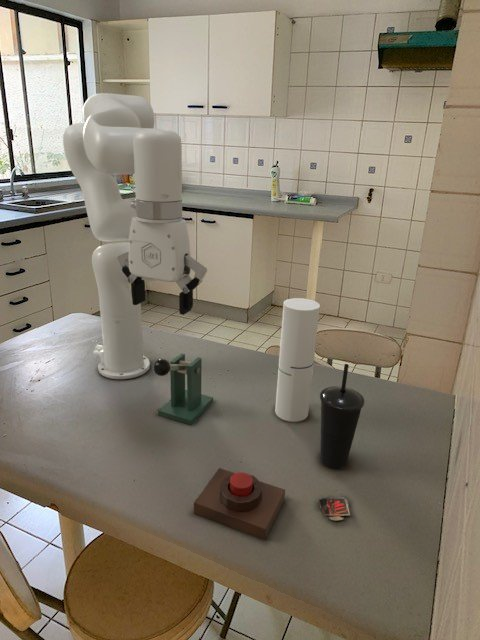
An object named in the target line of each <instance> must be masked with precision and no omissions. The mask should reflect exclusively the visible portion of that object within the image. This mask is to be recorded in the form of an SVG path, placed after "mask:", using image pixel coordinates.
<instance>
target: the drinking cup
mask: <svg viewBox="0 0 480 640" xmlns="http://www.w3.org/2000/svg"><path fill="white" fill-rule="evenodd" d="M343 366H344V367H343V374H342V382H341V386H339V385H338V386H337V385H336V386H335V385H334V386H328V387H325V388H323V389H322V390H321V391H320V393H319V400H320V446H319V447H320V448H319V449H320V452H319V456H320V458H319V459H320V462H321V464H322V465H323V466H325V468H328V469H331V470H342V469H344V468H345V467H347V463H348V460H349V456H350V453H351V448H352V444H353V442H354V439H355V438H354V437H355V433H356V429H357V426H358V422H359V419H360V415H361V412H362V408H363V407H364V406H365V402H366V401H365V398H364V396H363V394H361V393H360V392H359V391H357V390H355V389H354V388H353V389H352V388H351V387H347V386H346V385H347V380H348V372H349V366H350V365H349V364H348V363H344V365H343Z"/></svg>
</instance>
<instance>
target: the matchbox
mask: <svg viewBox="0 0 480 640" xmlns="http://www.w3.org/2000/svg"><path fill="white" fill-rule="evenodd" d="M318 505H319V508H320V510H321V512H322V513H323V515H324V516H328V518H329V519H330V520H331V521H334V522H337V521H343V520H344V519H345V518H344V516H351V515H350V509H349V501H348V499H347V498H346V497H324V498H320V499H318ZM342 516H343V517H342Z"/></svg>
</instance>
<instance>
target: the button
mask: <svg viewBox="0 0 480 640" xmlns="http://www.w3.org/2000/svg"><path fill="white" fill-rule="evenodd" d="M234 473H235V474H234V475H232V476H231V478H230V491H231V493H232V494H233V495H235V496H238V497H244V496H248V495H249V494H251V492H252V488H253V479H252V477H251V476H250V475H251V474H250V473H247V472H234Z"/></svg>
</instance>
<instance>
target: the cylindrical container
mask: <svg viewBox="0 0 480 640" xmlns="http://www.w3.org/2000/svg"><path fill="white" fill-rule="evenodd" d="M320 308H321V305H320V303H319V302H318V301H316V300H313V299H309V298H305V297H303V298H302V297H293V298H287V299H285V300H284V301H283V305H282V317H281V329H280V333H281V334H280V344H279V355H278V371H277V383H276V394H275V395H276V396H275V406H274V407H275V408H274V413H275V415H276V416H277V418H279V419H281V420H282V421H286V422H293V423H297V422H303V421H305V420H306V419H307V418H308V417H309V409H310V401H311V400H310V399H311V393H312V392H311V390H312V381H313V375H314V374H313V373H314V366H315V365H314V364H315V363H314V362H315V356H316V355H315V354H316V345H317V338H318V337H317V336H318V328H319V319H320V310H321V309H320Z"/></svg>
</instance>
